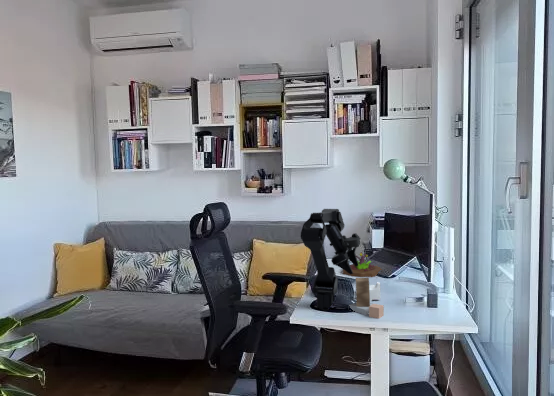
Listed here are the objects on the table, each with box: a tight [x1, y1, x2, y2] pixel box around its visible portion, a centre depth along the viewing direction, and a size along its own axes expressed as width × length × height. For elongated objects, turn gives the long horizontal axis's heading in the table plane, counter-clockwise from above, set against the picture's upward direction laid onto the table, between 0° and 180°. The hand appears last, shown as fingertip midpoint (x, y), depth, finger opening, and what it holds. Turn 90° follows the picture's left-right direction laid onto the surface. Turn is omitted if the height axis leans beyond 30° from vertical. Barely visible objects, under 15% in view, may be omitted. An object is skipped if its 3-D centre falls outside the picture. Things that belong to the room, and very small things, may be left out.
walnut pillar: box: [355, 277, 371, 307], centre depth 183 cm, size 5×5×10 cm
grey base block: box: [348, 302, 374, 316], centre depth 183 cm, size 8×8×2 cm
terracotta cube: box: [368, 303, 385, 319], centre depth 175 cm, size 4×4×4 cm
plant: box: [342, 251, 383, 278], centre depth 243 cm, size 20×20×11 cm
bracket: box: [369, 281, 381, 302], centre depth 200 cm, size 13×7×8 cm, turn 179°
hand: (354, 269), depth 195 cm, fingers open, 9 cm apart
